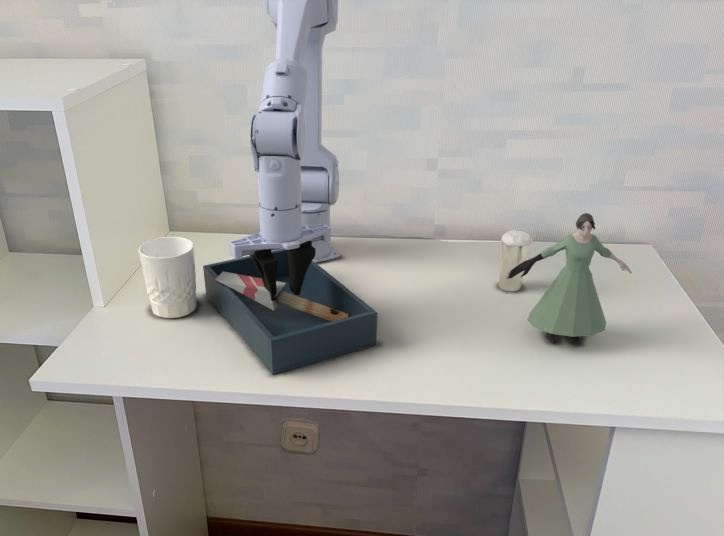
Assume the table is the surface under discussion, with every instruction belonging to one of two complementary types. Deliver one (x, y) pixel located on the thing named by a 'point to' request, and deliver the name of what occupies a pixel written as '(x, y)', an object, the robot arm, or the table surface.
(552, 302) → the character figurine
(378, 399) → the table surface
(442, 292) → the table surface
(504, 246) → the milkshake
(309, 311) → the paintbrush
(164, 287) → the white cup
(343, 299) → the tub
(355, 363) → the table surface
